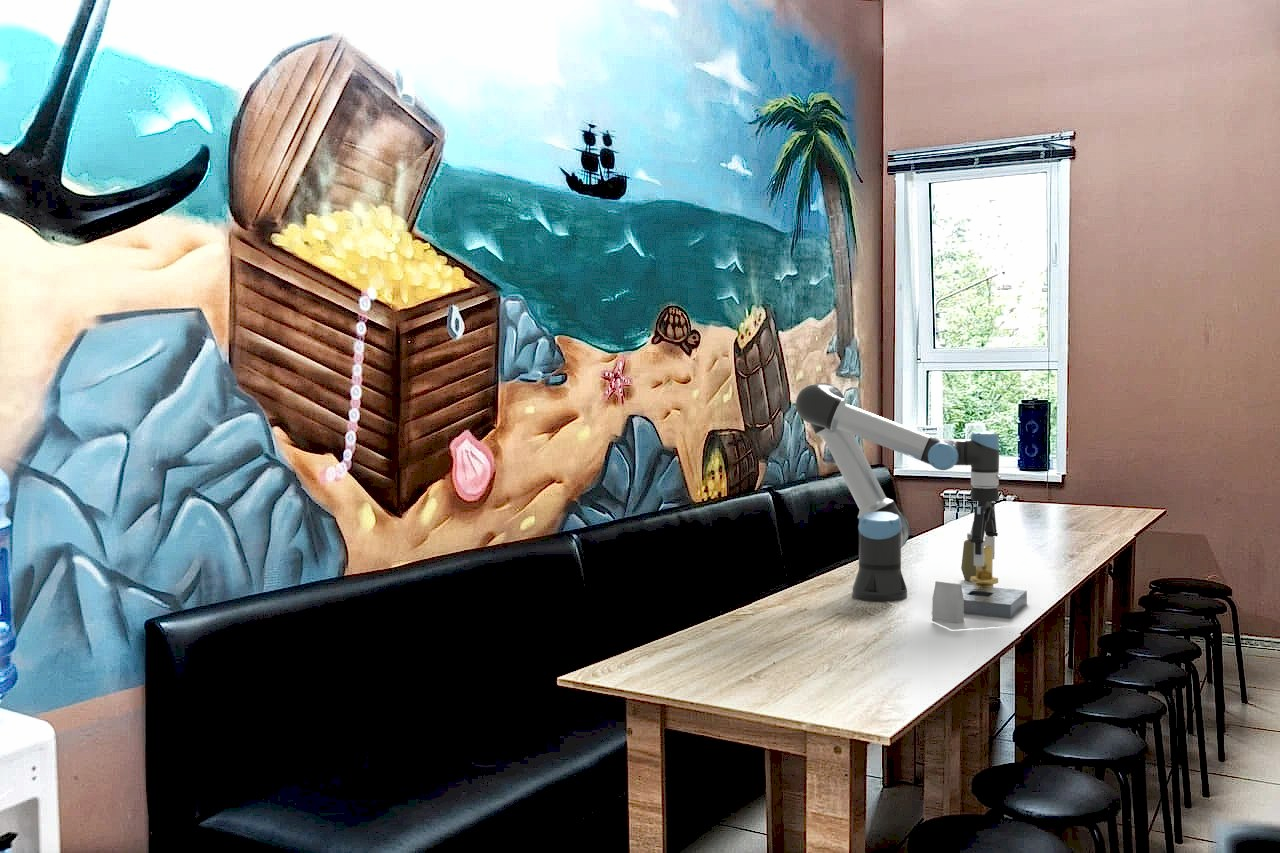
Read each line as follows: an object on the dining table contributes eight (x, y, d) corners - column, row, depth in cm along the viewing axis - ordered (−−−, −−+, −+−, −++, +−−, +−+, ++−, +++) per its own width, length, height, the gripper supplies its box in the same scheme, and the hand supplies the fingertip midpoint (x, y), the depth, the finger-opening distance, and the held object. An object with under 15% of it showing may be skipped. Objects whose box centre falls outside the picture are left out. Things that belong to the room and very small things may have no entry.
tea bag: (957, 624, 274) (957, 585, 273) (932, 621, 278) (932, 582, 278) (963, 622, 277) (963, 583, 276) (938, 618, 281) (938, 580, 280)
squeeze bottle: (958, 581, 328) (958, 522, 327) (963, 577, 335) (964, 519, 334) (986, 584, 324) (986, 524, 323) (990, 579, 331) (991, 520, 330)
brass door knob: (979, 597, 306) (979, 549, 305) (965, 592, 313) (965, 545, 312) (1003, 596, 307) (1003, 548, 306) (989, 590, 315) (989, 544, 314)
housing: (1010, 620, 278) (1010, 604, 278) (932, 611, 288) (932, 596, 288) (1026, 605, 295) (1026, 590, 295) (952, 597, 306) (952, 583, 305)
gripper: (988, 491, 296) (987, 570, 297) (1007, 483, 317) (1007, 556, 318) (960, 490, 300) (959, 568, 301) (981, 482, 321) (981, 554, 322)
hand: (984, 562), depth 310 cm, fingers open, 12 cm apart
